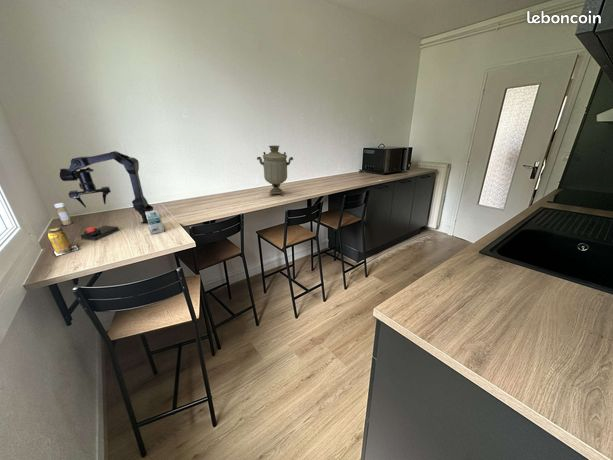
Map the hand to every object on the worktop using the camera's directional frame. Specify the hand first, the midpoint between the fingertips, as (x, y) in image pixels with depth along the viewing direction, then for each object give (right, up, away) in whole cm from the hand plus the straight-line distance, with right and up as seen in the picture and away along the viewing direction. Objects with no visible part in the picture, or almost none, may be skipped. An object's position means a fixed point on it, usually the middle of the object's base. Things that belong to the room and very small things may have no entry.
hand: (95, 205), depth 150 cm
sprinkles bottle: (-25, -11, +8) cm, 28 cm away
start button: (+8, -15, -11) cm, 20 cm away
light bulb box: (+38, -15, -1) cm, 40 cm away
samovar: (+101, +18, +71) cm, 125 cm away
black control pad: (+8, -17, -6) cm, 20 cm away
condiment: (+6, -25, -24) cm, 35 cm away
